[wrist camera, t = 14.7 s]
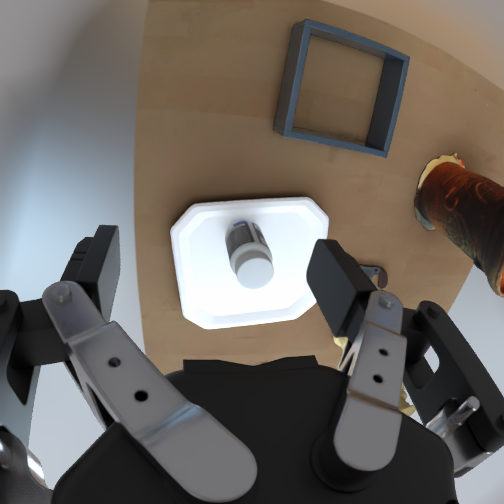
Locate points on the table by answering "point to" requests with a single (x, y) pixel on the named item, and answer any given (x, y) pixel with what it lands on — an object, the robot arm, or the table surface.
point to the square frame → (386, 96)
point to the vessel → (465, 213)
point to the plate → (219, 270)
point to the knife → (381, 272)
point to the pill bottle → (249, 254)
